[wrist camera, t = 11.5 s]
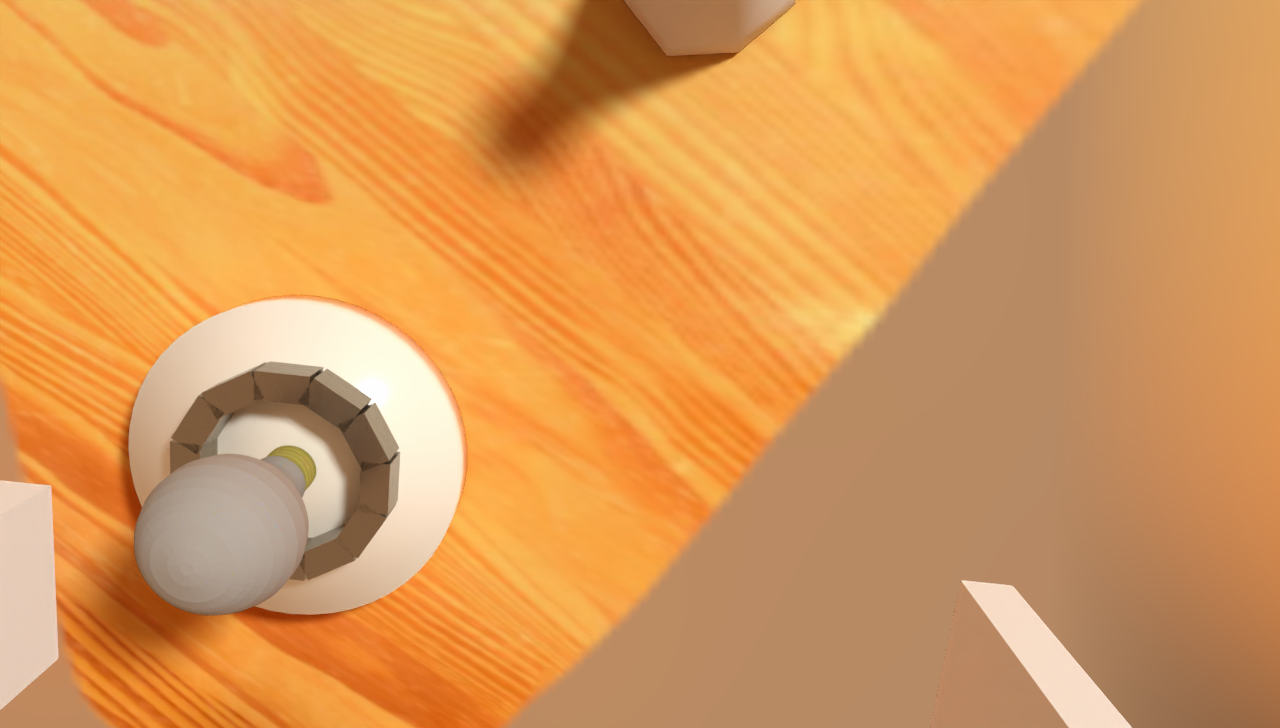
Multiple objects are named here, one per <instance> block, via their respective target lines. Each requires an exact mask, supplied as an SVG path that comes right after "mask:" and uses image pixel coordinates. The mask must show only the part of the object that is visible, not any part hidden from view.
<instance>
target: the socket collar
mask: <svg viewBox="0 0 1280 728" xmlns="http://www.w3.org/2000/svg"><path fill="white" fill-rule="evenodd" d="M259 400H262V401H271V402H280V403H290V404H299V405H304V406H306V407H307V408H309V409H310V410H312V411H313V412H315V413H316V414H318V415H319V416H321V417H322V418H324V419H325V420H327V421H328V422H330V423H331V424H333V425H334V426H336V427H337V428H339V429H340V430H341V432H342V434H343V436H344V437H345V439H346V441H347V443H348V445H349V447H350V449H351V450H352V452H353V454H354V456H355V458H356V460H357V462H358V463H359V465H360V490H359V507H358V509H357V510H356V511H355V513H354V514H353V516H352V517H351V519H350V520H349V521H348V523H347V524H345V525H342V526H340V527H337V528H335V529H333V530H330V531H328V532H326V533H323V534H321V535H319V536H316V537H314V538H309V537H308V539H307V543H306V547H305V550H304V554H303V557H302V560H301V562H300V564H299V566H298V568H297V569H296V571H295V572H294V574H293V575H292V576H291V577H290V579H291V580H301V581H304V580H305V579H306V578H307V579H308V580H310V579H312V578H315V577H317V576H320V575H322V574H324V573H327V572H329V571H332V570H334V569H336V568H339V567H341V566H344V565H346V564H348V563H351V562H353V561H355V560H356V558H359V556H360V555H361V553H362V552H363V551H364V549H365V548H366V547H367V545H368V544H369V542H370V541H371V540H372V538H373V537H374V535H375V534H376V533H377V531H378V530H379V528H380V527H381V526H382V524H383V523H384V521H385V520H386V519H387V517H388V516H389V514H390V513H391V511H392V510H393V508H394V507H395V505H396V502H397V501H398V487H399V468H400V452H397V450H398V449H399V446H398V444H397V442H396V440H395V439H394V437H393V435H392V433H391V431H390V429H389V427H388V425H387V423H386V421H385V420H384V418H383V416H382V414H381V412H380V410H379V408H378V406H377V404H376V402H374V403H372V404H370V405H369V403H370V402H371V400H372V398H370V397H369V396H367V395H366V394H364V393H363V392H361V391H360V390H359V389H357V388H356V387H354V386H353V385H351V384H350V383H348V382H347V381H345V380H344V379H342V378H341V377H339V376H338V375H336V374H335V373H333V372H332V371H330V370H329V369H326V370H325V371H323V367H318V366H309V365H300V364H290V363H281V362H271V361H270V362H268V363H266V362H265V363H262V364H260V365H258V366H256V367H253V368H251V369H249V370H247V371H244V372H242V373H240V374H238V375H235V376H233V377H231V378H229V379H226V380H224V381H222V382H220V383H218V384H216V385H214V386H213V387H211V388H209V389H207V390H206V391H204V392H202V394H200V395H198V397H197V398H196V400H195V401H194V403H193V404H192V406H191V408H190V409H189V411H188V412H187V414H186V415H185V417H184V418H183V420H182V421H181V423H180V425H179V426H178V428H177V429H176V431H175V432H174V434H173V435H172V437H171V438H172V439H173V440H172V441H170V474H171V473H172V472H174V471H175V470H176V469H178V468H179V467H181V466H183V465H185V464H187V463H189V462H191V461H194V460H198V459H201V458H205V457H209V456H213V455H217V453H218V436H219V435H220V433H221V432H222V430H223V429H224V427H225V426H226V424H227V423H228V421H229V420H230V418H231V417H232V415H233V414H234V412H235V411H236V410H239V409H241V408H243V407H245V406H248V405H250V404H252V403H254V402H257V401H259Z"/></svg>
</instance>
